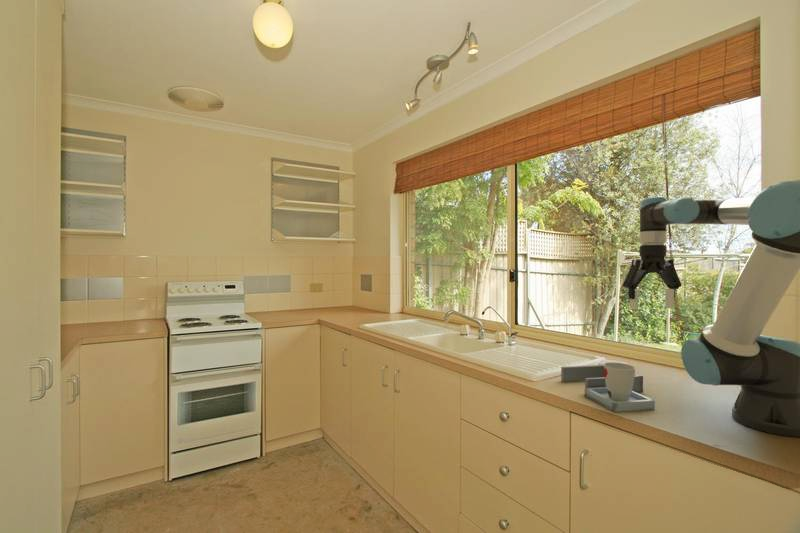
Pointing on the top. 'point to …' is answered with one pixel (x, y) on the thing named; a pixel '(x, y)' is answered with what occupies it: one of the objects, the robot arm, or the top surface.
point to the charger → (610, 361)
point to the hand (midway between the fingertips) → (651, 308)
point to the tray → (632, 404)
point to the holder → (594, 376)
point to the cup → (619, 380)
